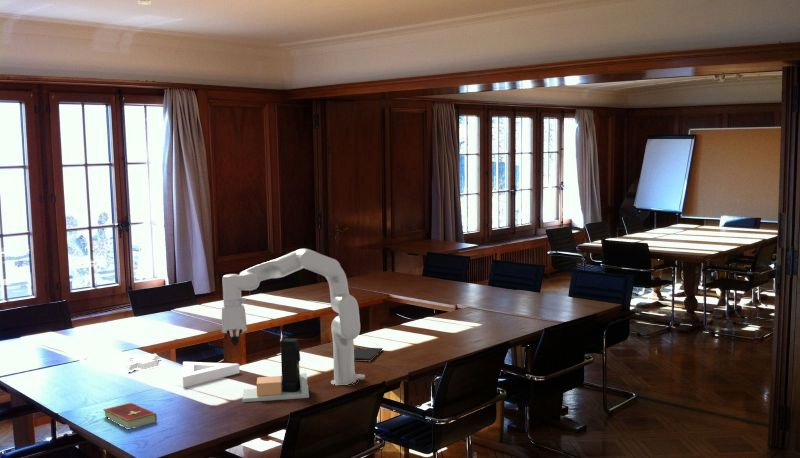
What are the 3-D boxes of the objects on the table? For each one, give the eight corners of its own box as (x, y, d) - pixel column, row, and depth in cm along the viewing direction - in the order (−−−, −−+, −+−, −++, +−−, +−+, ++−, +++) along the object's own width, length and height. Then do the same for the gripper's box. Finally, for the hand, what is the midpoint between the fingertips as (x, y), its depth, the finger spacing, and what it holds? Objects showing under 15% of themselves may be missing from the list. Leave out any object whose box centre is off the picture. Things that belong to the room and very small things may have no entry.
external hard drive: (382, 353, 392) (382, 348, 392) (370, 364, 370) (369, 358, 369) (357, 352, 396) (357, 347, 395) (343, 363, 373) (343, 357, 373)
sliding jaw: (282, 387, 325) (281, 375, 324) (282, 394, 315) (281, 381, 315) (257, 389, 323) (257, 377, 323) (256, 395, 313) (256, 383, 313)
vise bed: (307, 388, 329) (307, 372, 328) (309, 397, 315) (308, 380, 314) (244, 392, 324) (243, 376, 324) (242, 402, 310) (241, 384, 310)
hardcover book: (132, 411, 303) (131, 401, 302) (157, 422, 288) (156, 412, 288) (103, 418, 294) (103, 408, 294) (127, 430, 279) (127, 419, 279)
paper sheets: (160, 376, 357) (159, 365, 356) (117, 380, 352) (116, 368, 352) (167, 359, 391) (166, 349, 390) (128, 362, 387) (127, 352, 386)
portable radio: (303, 388, 323) (301, 332, 321) (298, 392, 317) (296, 335, 315) (286, 388, 325) (284, 332, 323) (281, 392, 319) (279, 335, 317)
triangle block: (183, 374, 360) (183, 361, 360) (237, 369, 368) (237, 356, 367) (183, 390, 332) (182, 377, 331) (242, 385, 339) (241, 371, 338)
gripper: (250, 300, 319) (253, 341, 320) (215, 302, 317) (218, 344, 318) (250, 303, 311) (252, 345, 313) (214, 305, 309) (216, 348, 311)
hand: (235, 345), depth 316 cm, fingers closed
